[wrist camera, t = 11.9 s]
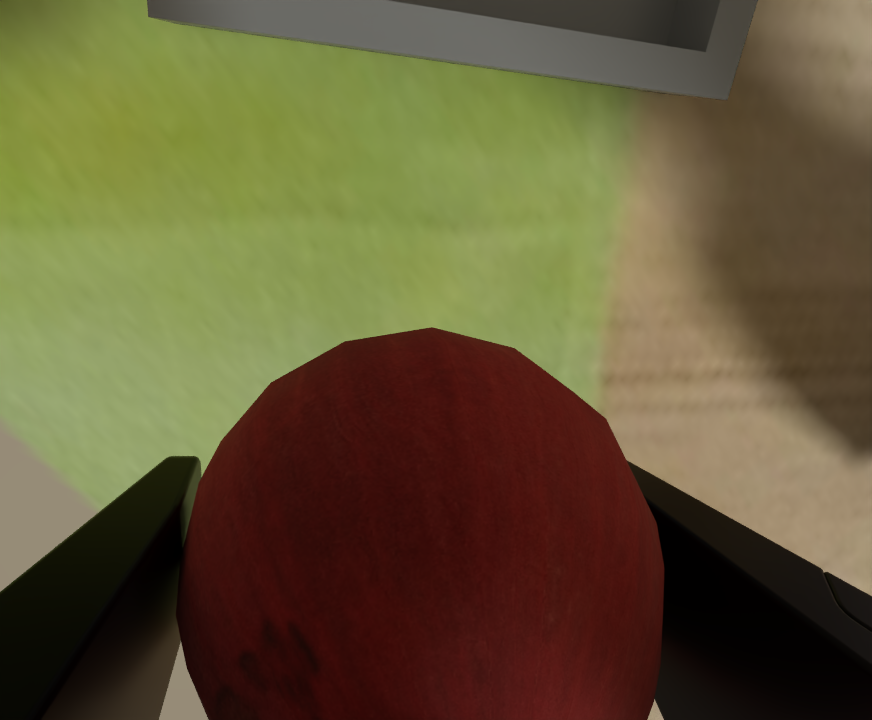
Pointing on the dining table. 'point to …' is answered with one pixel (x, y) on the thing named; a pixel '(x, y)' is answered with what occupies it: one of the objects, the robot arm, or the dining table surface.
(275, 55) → the dining table surface
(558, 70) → the tray
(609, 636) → the onion
